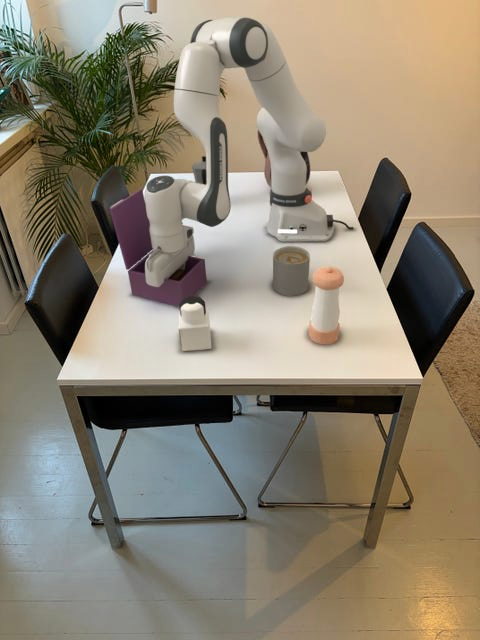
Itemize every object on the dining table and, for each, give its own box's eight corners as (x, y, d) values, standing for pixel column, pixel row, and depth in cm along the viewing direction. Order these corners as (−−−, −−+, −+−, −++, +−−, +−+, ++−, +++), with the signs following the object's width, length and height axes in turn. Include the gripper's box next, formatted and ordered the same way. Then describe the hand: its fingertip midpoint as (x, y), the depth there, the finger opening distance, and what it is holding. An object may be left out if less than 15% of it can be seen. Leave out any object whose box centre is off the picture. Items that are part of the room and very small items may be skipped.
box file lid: (142, 189, 135) (128, 188, 137) (111, 209, 125) (97, 207, 127) (155, 247, 145) (142, 245, 147) (128, 270, 135) (114, 268, 137)
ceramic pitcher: (302, 201, 187) (305, 133, 172) (249, 195, 194) (248, 129, 179) (314, 184, 200) (317, 119, 185) (264, 179, 207) (263, 116, 192)
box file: (207, 282, 144) (205, 258, 140) (183, 307, 135) (180, 283, 130) (158, 271, 150) (154, 248, 146) (132, 295, 140) (127, 271, 136)
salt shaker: (344, 337, 122) (352, 269, 111) (321, 348, 119) (327, 280, 108) (325, 322, 127) (330, 256, 116) (302, 332, 124) (306, 266, 113)
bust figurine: (182, 333, 126) (176, 293, 118) (210, 331, 126) (206, 291, 119) (181, 351, 120) (176, 311, 113) (211, 349, 120) (207, 308, 113)
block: (186, 284, 142) (184, 269, 139) (177, 293, 139) (175, 278, 136) (171, 281, 144) (169, 266, 141) (161, 290, 140) (159, 275, 137)
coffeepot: (196, 197, 194) (191, 150, 183) (220, 196, 194) (217, 149, 183) (193, 214, 182) (189, 165, 171) (219, 213, 182) (216, 164, 171)
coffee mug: (307, 296, 137) (308, 265, 131) (270, 294, 138) (270, 263, 132) (309, 271, 147) (311, 241, 141) (276, 269, 149) (276, 239, 143)
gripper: (156, 259, 124) (163, 305, 132) (196, 225, 138) (200, 268, 147) (135, 255, 126) (143, 300, 134) (176, 221, 141) (182, 264, 149)
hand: (173, 283), depth 141 cm, fingers open, 6 cm apart
